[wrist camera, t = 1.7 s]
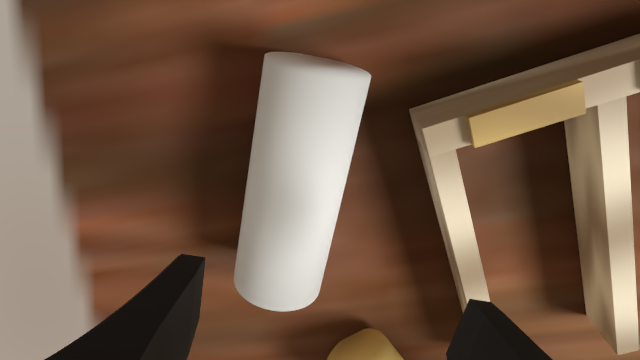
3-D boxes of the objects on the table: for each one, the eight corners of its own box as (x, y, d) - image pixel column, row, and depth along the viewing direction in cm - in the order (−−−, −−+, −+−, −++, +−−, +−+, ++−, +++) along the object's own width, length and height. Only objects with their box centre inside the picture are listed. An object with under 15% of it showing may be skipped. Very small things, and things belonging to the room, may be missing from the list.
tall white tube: (336, 287, 21) (276, 325, 18) (278, 246, 23) (215, 273, 20) (391, 78, 17) (324, 82, 14) (314, 52, 19) (241, 50, 16)
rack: (730, 279, 23) (789, 322, 20) (471, 344, 24) (491, 392, 22) (747, -3, 17) (832, 2, 14) (408, 109, 19) (424, 132, 16)
